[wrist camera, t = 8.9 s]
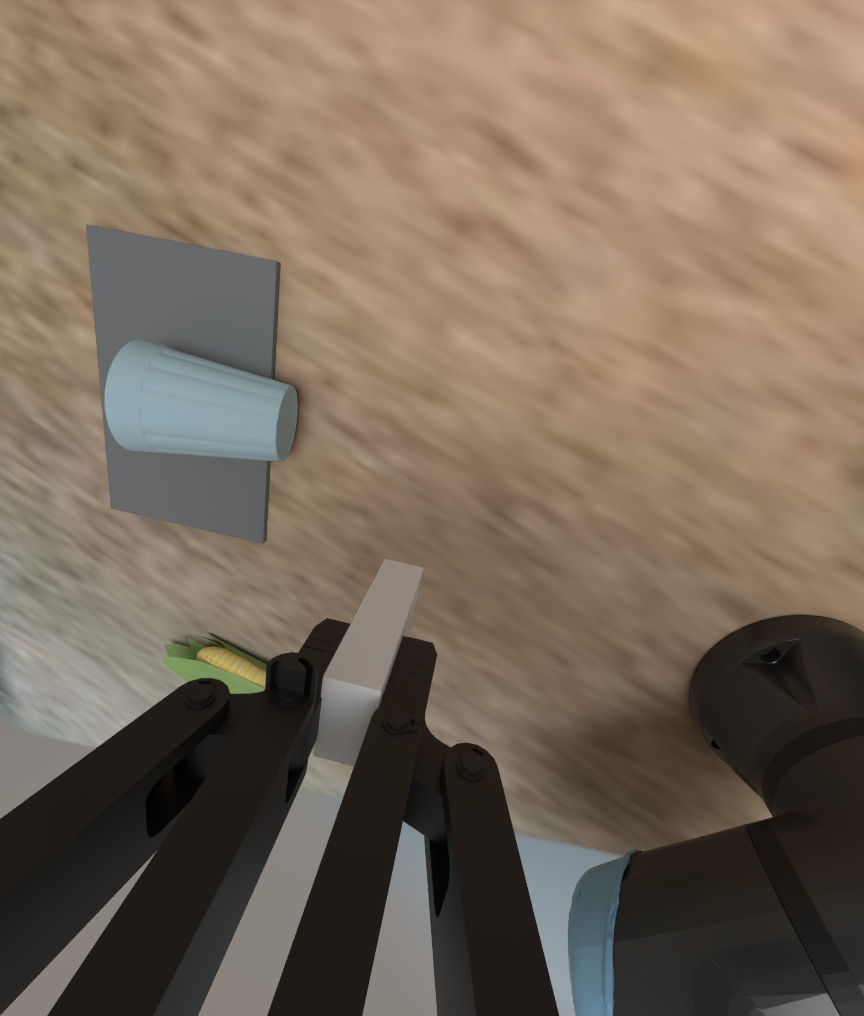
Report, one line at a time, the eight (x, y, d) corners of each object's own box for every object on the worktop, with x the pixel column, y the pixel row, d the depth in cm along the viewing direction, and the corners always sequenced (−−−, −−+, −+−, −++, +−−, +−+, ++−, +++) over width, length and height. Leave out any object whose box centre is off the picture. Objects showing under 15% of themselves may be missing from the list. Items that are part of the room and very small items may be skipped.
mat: (280, 262, 33) (276, 261, 32) (266, 540, 41) (262, 543, 41) (92, 226, 34) (86, 224, 33) (116, 506, 42) (111, 508, 41)
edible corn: (329, 772, 45) (344, 757, 42) (143, 669, 44) (145, 645, 41) (352, 723, 49) (367, 705, 46) (182, 627, 48) (186, 603, 45)
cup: (304, 356, 35) (160, 329, 34) (271, 387, 28) (93, 354, 28) (300, 448, 39) (171, 425, 38) (271, 494, 32) (114, 468, 32)
